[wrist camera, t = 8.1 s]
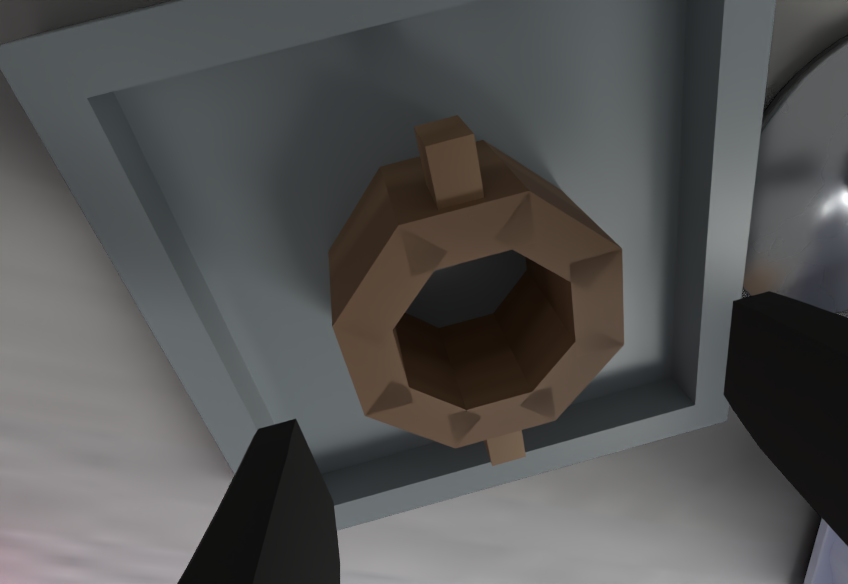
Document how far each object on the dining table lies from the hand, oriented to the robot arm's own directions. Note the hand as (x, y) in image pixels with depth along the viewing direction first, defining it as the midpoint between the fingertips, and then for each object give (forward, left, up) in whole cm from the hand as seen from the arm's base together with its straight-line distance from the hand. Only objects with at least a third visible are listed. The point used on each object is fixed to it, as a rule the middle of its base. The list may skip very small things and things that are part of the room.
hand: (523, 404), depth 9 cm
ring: (0, 0, -5) cm, 5 cm away
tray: (0, 0, -5) cm, 5 cm away
